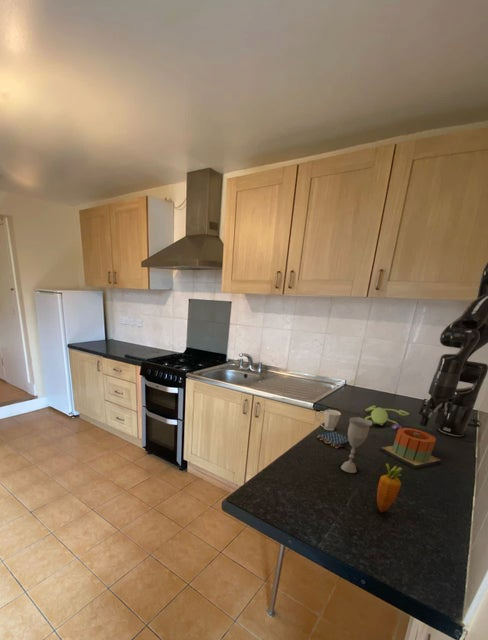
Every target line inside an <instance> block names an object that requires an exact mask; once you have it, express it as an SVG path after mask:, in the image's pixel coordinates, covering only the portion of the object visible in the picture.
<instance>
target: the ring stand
mask: <svg viewBox="0 0 488 640" xmlns="http://www.w3.org/2000/svg"><path fill="white" fill-rule="evenodd" d="M419 436H420V434H419V433H417V432H414V433H413V436H412V437H414V438H417V439H419ZM392 448H393V445H389V446H382V447H381V449H383V450H385V451H386V452H389V453H390V454H392V455H395V456H397V457H398V458H400V459H402V460H404V461H406V462H408V463H410V464H411V465H414V466H419V465H425V464H429V463H434V462H439V461H441V459H440V458H438V457H436V456H433V455H432V454H431V456H430V459H429V461H425V462H423V461H422V462H420V461H414V460H410V459H406V458H405V457H401V456H399V455H397V454H396V453H395V452H394V451H393V450H392Z"/></svg>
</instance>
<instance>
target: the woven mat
mask: <svg viewBox="0 0 488 640" xmlns="http://www.w3.org/2000/svg"><path fill="white" fill-rule="evenodd" d="M316 438H317V439H319V441H322V442H324V443H325V444H328V445H330V447H333V448H335V449H338V448H343V447H345V446H344V444H347V443H349V439H348V436H345V435H342V434H340V433H338V432H337V431H325V432H322V433H317V435H316Z"/></svg>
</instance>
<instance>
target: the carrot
mask: <svg viewBox="0 0 488 640" xmlns="http://www.w3.org/2000/svg"><path fill="white" fill-rule="evenodd" d="M385 466H386V470H387V474H383V475H381V476H380V477H379V482H378V485H377V490H376V503H377V508H378V511H379V512H380V514H381V513H385V512H386V511H388V509H389V508H390V507H391V506H392V505H393V504H394V502H395V500H396V499H397V497H398V495H399V493H400V489H401V486H402V483H401V480H400V479H399V477H401V476H402V474H401V472H402V471H403V468H402V467H400V466H399V467H398V466H397V465H394V466H393V467H392V468H390V464H389V463H385Z"/></svg>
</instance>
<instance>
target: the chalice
mask: <svg viewBox="0 0 488 640" xmlns="http://www.w3.org/2000/svg"><path fill="white" fill-rule="evenodd" d="M348 420H349V425H348V429H347V438H348V439H349V442H348V443H349V446H351V450H350V454H349V455H348V457H349V459H348V460H346V461H344V462H343V463H342V465H341V466H340V469H341V470H342V471H344V472H346V473H350V474H354V473H355V474H356V473H357V466H356V464H355V462H353V460H354V459H355V454H356V448H360V447H361V446H362V444H363V443H364V442H365V441H366V439H367V438H368V435H369V431H370V427H371V426H373V423H372V422H371V421H369V420H370V419H367V420H366V419H365V418H363V417H360V418H358V417H355V416H354V417H349V419H348Z"/></svg>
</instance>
